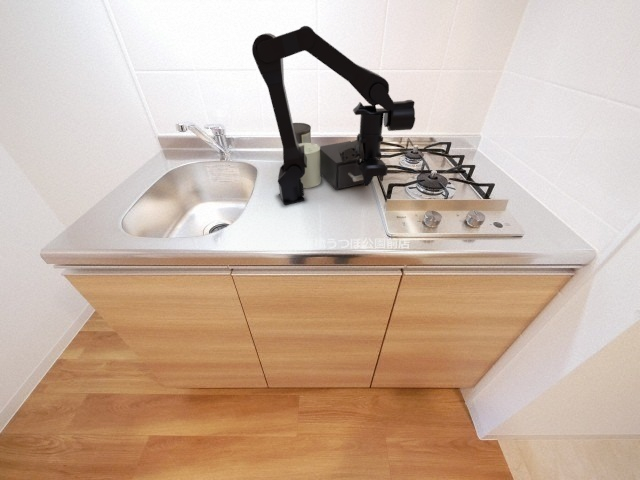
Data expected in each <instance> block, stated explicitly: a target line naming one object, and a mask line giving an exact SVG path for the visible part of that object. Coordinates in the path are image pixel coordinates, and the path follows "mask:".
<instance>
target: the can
mask: <svg viewBox="0 0 640 480" xmlns="http://www.w3.org/2000/svg"><path fill="white" fill-rule="evenodd" d="M302 145H304V152H305V155H306V157H307V168H305V174H304V175H303V177H302V178H300V179H301V182H302V183H303V189H310V188H315V187H318V186H319V185H320V184H321V183H322V179H321V178H322V175H321V174H320V146H321V145H319V144H316V143H313V142H311V143H300V144H299V146H302Z"/></svg>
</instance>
